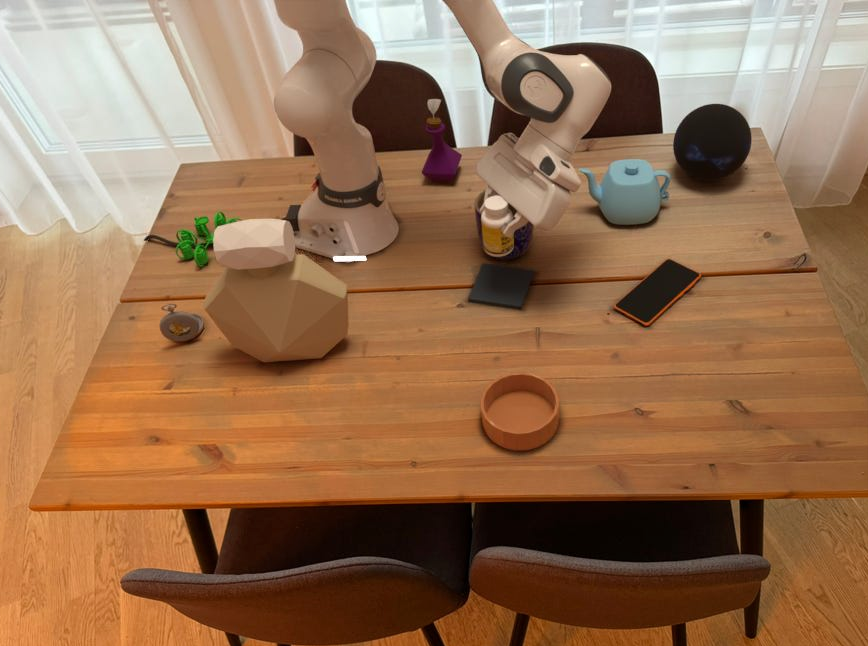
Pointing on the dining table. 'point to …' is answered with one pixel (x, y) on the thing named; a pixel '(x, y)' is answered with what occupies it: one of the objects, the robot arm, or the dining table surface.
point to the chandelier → (202, 230)
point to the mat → (501, 286)
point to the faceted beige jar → (274, 294)
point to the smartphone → (657, 292)
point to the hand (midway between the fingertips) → (494, 224)
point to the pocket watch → (180, 325)
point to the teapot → (629, 191)
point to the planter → (521, 235)
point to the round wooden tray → (520, 411)
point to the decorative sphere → (712, 142)
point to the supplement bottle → (496, 227)
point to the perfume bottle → (439, 150)
